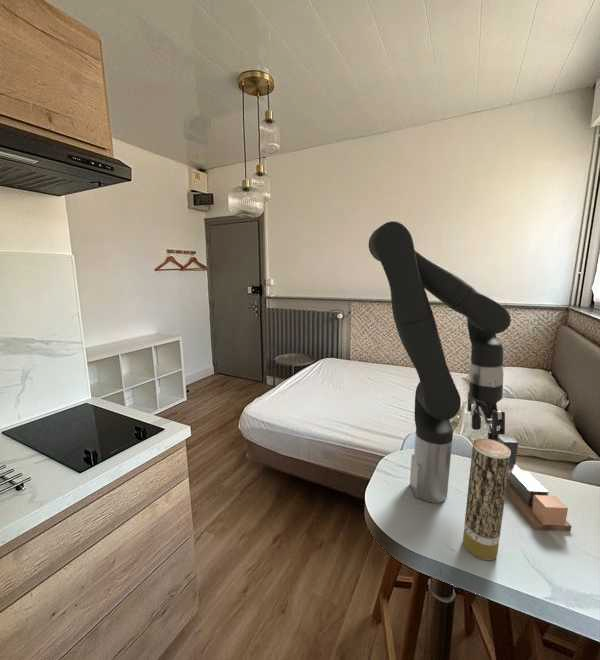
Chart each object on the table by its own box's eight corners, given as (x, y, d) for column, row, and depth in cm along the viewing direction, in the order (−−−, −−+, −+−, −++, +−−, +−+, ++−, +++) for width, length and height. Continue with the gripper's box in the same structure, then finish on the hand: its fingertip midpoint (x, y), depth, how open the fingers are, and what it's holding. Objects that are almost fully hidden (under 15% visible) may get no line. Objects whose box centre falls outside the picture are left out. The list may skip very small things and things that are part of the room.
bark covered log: (487, 536, 73) (499, 439, 68) (503, 563, 66) (518, 457, 61) (457, 534, 73) (467, 437, 69) (470, 560, 67) (482, 455, 62)
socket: (543, 524, 74) (545, 507, 73) (531, 511, 78) (534, 495, 77) (565, 525, 74) (568, 508, 73) (552, 512, 78) (555, 495, 77)
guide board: (535, 529, 74) (536, 524, 74) (490, 475, 94) (491, 471, 94) (570, 531, 74) (571, 525, 74) (518, 476, 94) (518, 472, 93)
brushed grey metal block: (530, 506, 79) (535, 471, 77) (494, 466, 96) (498, 436, 94) (546, 506, 79) (552, 471, 77) (508, 466, 95) (512, 437, 93)
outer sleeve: (527, 506, 80) (529, 491, 79) (508, 485, 88) (510, 471, 87) (546, 506, 80) (548, 491, 79) (525, 485, 87) (527, 471, 87)
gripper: (459, 372, 88) (458, 424, 91) (485, 391, 74) (483, 452, 77) (486, 370, 87) (484, 423, 90) (518, 389, 73) (514, 451, 76)
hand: (483, 436), depth 84 cm, fingers open, 8 cm apart
